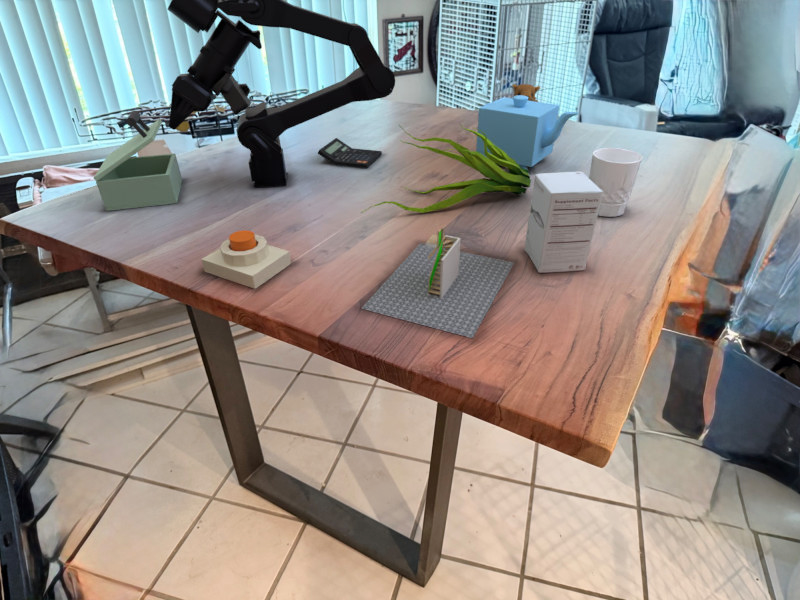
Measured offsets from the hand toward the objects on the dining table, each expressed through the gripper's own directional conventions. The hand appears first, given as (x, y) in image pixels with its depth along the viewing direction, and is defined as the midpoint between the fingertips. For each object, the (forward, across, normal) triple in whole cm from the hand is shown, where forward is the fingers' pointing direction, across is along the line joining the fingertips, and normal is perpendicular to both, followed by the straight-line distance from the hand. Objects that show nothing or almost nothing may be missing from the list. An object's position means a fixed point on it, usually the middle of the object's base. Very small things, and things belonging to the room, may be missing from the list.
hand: (176, 123), depth 95 cm
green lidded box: (+16, 0, -2) cm, 16 cm away
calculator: (-13, +12, -33) cm, 37 cm away
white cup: (-40, -24, -66) cm, 81 cm away
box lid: (+9, -1, +4) cm, 10 cm away
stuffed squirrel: (-42, +19, -64) cm, 78 cm away
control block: (+3, -33, -20) cm, 38 cm away
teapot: (-37, +2, -60) cm, 71 cm away
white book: (-15, -43, -41) cm, 61 cm away
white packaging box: (-28, -39, -54) cm, 73 cm away
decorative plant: (-22, -17, -46) cm, 53 cm away
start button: (0, -33, -18) cm, 37 cm away
